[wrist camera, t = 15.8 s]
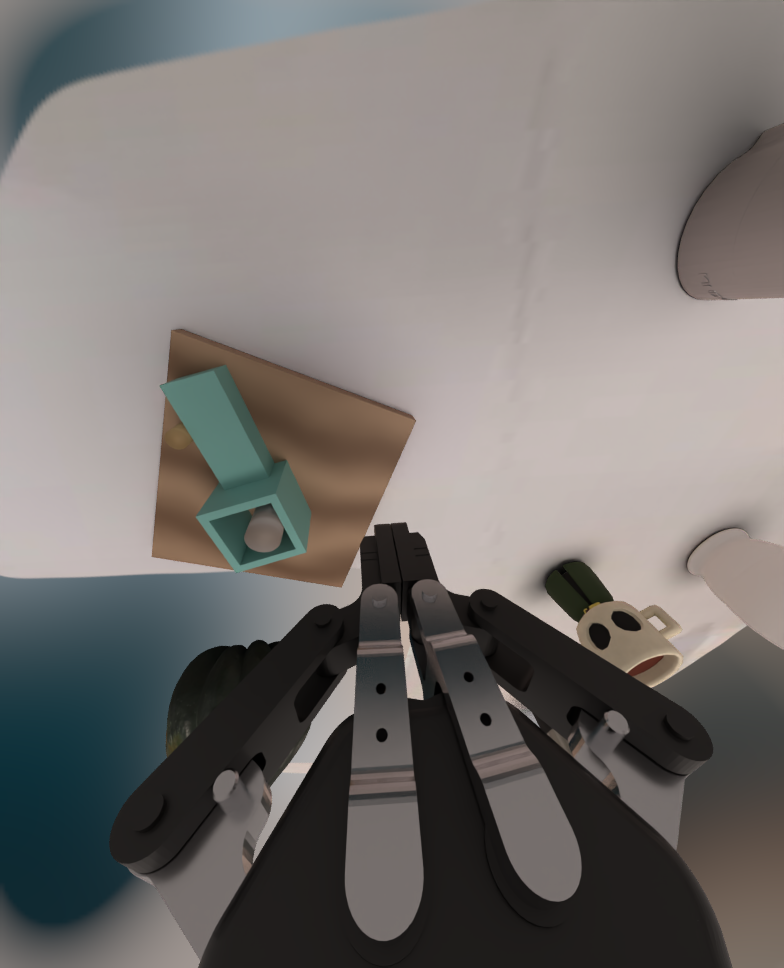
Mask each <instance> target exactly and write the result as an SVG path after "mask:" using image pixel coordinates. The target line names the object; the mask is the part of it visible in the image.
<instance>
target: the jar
mask: <svg viewBox="0 0 784 968" xmlns="http://www.w3.org/2000/svg"><path fill="white" fill-rule="evenodd" d="M687 568H688V570H689V572H690V573H692V574H694V575H696V576H701V577H703V579H704V581H705V582H706V584H707V586H708V587H709V588H710V590H711V591H712V592H713V593H714V594H715V595H716V596H717V597H718V598H719V599H720V600H721V601H722V602H723V603H725V604H726V605H727V606H728V608H729V609H730V610H731V611H732V612H733V613H734V614H735V615H736V616H738V617H739V618H740V619H741V620H742V621H743V622H744V623H745V624H747V625H748V626H749V627H750V628H752V629H753V630H754V631H756V632H757V633H759V634H760V635H761V636H763V637H764V638H766V639H767V640H769V641H770V642H772V643H773V644H775V645H776V646H778V647H780V648H781V649H783V650H784V547H782V546H780V545H777V544H774V543H770V542H766V541H762V540H757V539H750V537H749V535H748V534H747V533H746V532H745V531H744V530H742V529H737V528H733V529H727V530H724V531H721V532H719V533H717V534H714V535H713V536H711V537H709V538H708V539H706V540H705V541H704V542H702V543H701V544H700V545H699V546H698V547H697V548H696V549H695V550H694V551H693V553H692V554H691V556H690V558H689V560H688V563H687Z"/></svg>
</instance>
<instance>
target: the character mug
mask: <svg viewBox="0 0 784 968" xmlns="http://www.w3.org/2000/svg"><path fill="white" fill-rule="evenodd" d="M563 567H564V569H565V570H566V571H567V572H566V573H564V574H563V575H561V574H560V573H559V572H558V571H557V570H555V571H553V573H552V574H551V575H550V576H549V577H548V578H547V582H546V585H545V587H546V590H547V592H548V594H549V595H550V596H551V597H552V599H553V600H554V601H555V602H556V603H557V604H558V605H559V606H560V607H561V608H562V609H563V610H564V611H565V612H566V613H567V614H568V615H569V616H570V617H571V618H572V619H573V620H575V621H577V622H578V626H577V628H576V630H577V634H578V637H579V641H580V642H581V645H582V646H584V647H585V648H587V649H589V650H590V651H592V652H594V653H595V654H597V655H598V656H600V657H602V658H603V659H605V660H606V661H608V662H610V663H611V664H613V665H615V666H616V667H618V668H619V669H621V670H623V671H624V672H626V673H627V674H629V675H631V676H632V677H634V678H636V679H637V680H639V681H640V682H642V683H644V684H645V685H647V686H648V687H650V688H651V687H653V686H656V685H658V684H659V683H661V682H663V681H664V680H666V679H668V678H669V677H670V676H671V675H673V674H674V673H675V672H676V671H677V670H678V669H679V667H680V666H681V665H682V663H683V655H682V654H681V653H680V652H679V651H678V650H677V649H676V648H675V647H674V646H673V645H672V644H671V643H670V642H669V641H668V639H670V638H672V637H673V636H675V635H677V634H679V633H680V632H681V631H682V628H681V626H680V625H679V624H678V623H677V622H676V621H675V620H674V619H673V618H671V617H670V616H669V615H668V614H667V613H666V612H665V611H664V610H663V609H662V608H660V607H658V606H657V605H652V606H649V607H647V608H645V609H644V610H642V611H640V612H639V611H638V610H637V609H635V608H634V607H633V606H631V605H630V604H628V603H626V602H622V601H614V600H613V597H612V595H611V594H610V593H609V591H608V590H607V589H606V587H605V586H604V585H603V583H602V582H601V581H600V579H599V578H598V577H597V576H596V574H595V573H594V572H593V571H592V570H591V568H590V567H588V566H587V565H586V564H585V563H583V562H571V563H568V564H564V565H563ZM653 616H657V617H658V618H659V619H660V620H661V621H662V622H663V623H664V624H665V625H666V626H667V627H665V628H664V629H662V630H660V631H658V630H657V629H656V628H655V627H654V626H653V625H652V624H651V623H650V622H649V621H648V620H647V619H649V618H651V617H653Z"/></svg>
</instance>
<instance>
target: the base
mask: <svg viewBox="0 0 784 968" xmlns="http://www.w3.org/2000/svg"><path fill="white" fill-rule="evenodd" d="M223 365H226V366H227V368H228V370H229V372H230V374H231V376H232V378H233V380H234V382H235V384H236V386H237V388H238V390H239V392H240V394H241V396H242V398H243V400H244V402H245V404H246V406H247V408H248V410H249V412H250V414H251V417H252V419H253V421H254V423H255V425H256V427H257V429H258V431H259V433H260V435H261V437H262V439H263V441H264V443H265V445H266V447H267V449H268V451H269V453H270V455H271V457H272V459H273V461H274V463H278V462H281V461H285V460H287V461H288V463H289V466H290V468H291V470H292V472H293V474H294V476H295V478H296V480H297V483H298V485H299V487H300V489H301V491H302V493H303V495H304V498H305V500H306V502H307V504H308V506H309V508H310V510H311V520H310V528H309V536H308V544H307V552H306V553H303V554H300V555H296V556H293V557H289V558H286V559H283V560H279V561H276V562H273V563H269V564H266V565H262V566H259V567H256V568H252V569H249V570H245V571H242V572H249V573H255V574H261V575H267V576H273V577H280V578H286V579H293V580H298V581H304V582H311V583H317V584H323V585H329V586H335V587H342V585H343V583H344V581H345V578H346V576H347V574H348V572H349V570H350V567H351V565H352V563H353V561H354V558H355V556H356V554H357V552H358V550H359V547H360V543H361V541H362V539H363V538H364V536H365V534H366V532H367V529H368V527H369V525H370V523H371V520H372V518H373V516H374V514H375V511H376V509H377V507H378V505H379V502H380V500H381V498H382V496H383V494H384V491H385V489H386V487H387V485H388V482H389V480H390V478H391V476H392V473H393V471H394V469H395V467H396V464H397V462H398V460H399V458H400V455H401V453H402V451H403V449H404V447H405V444H406V442H407V440H408V438H409V435H410V433H411V431H412V429H413V426H414V424H415V422H416V420H415V419H414V417H413V416H412V415H409V414H407V413H404V412H401V411H399V410H396V409H393V408H391V407H388V406H385V405H383V404H380V403H377V402H375V401H372V400H369V399H367V398H364V397H361V396H359V395H356V394H353V393H351V392H348V391H345V390H343V389H340V388H337V387H335V386H332V385H329V384H327V383H324V382H321V381H319V380H316V379H313V378H311V377H308V376H305V375H303V374H300V373H297V372H295V371H292V370H289V369H287V368H284V367H281V366H279V365H276V364H273V363H271V362H268V361H265V360H263V359H260V358H257V357H254V356H252V355H249V354H246V353H244V352H241V351H238V350H236V349H233V348H230V347H228V346H225V345H222V344H220V343H217V342H214V341H212V340H209V339H206V338H204V337H201V336H198V335H196V334H193V333H190V332H188V331H185V330H182V329H178V330H171V341H170V352H169V364H168V376H167V382H170V381H172V380H175V379H177V378H181V377H184V376H188V375H191V374H195V373H198V372H202V371H205V370H209V369H213V368H216V367H220V366H223ZM218 483H219V481H218V479H217V477H216V476H215V474H214V472H213V471H212V469H211V468H210V466H209V464H208V463H207V461H206V460H205V458H204V456H203V455H202V453H201V452H200V450H199V448H198V447H197V445H196V444H195V442H194V440H193V439H192V437H191V436H190V434H189V432H188V431H187V429H186V428H185V426H184V424H183V423H182V421H181V420H180V418H179V416H178V415H177V413H176V412H175V410H174V408H173V407H172V405H171V404H170V402H169V400H168V399H167V397H166V399H165V410H164V422H163V433H162V445H161V456H160V468H159V479H158V491H157V502H156V514H155V526H154V537H153V549H152V557H156V558H162V559H168V560H175V561H181V562H187V563H193V564H199V565H205V566H212V567H218V568H224V569H230V570H234V569H233V568H232V567H231V565H230V564H229V563H228V561H227V560H226V558H225V557H224V556H223V554H222V553H221V551H220V550H219V549H218V547H217V546H216V544H215V543H214V542H213V540H212V539H211V538H210V536H209V535H208V533H207V532H206V531H205V529H204V528H203V526H202V525H201V524H200V522H199V521H198V520H197V518H196V515H197V514H198V512H199V511H200V509H201V508H202V507H203V505H204V504H205V502H206V501H207V499H208V498H209V496H210V495H211V494H212V492H213V491H214V489H215V488H216V486H217V485H218ZM249 511H250V513H251V515H252V518H251V520H250V523H249V525H248V528H247V530H246V533H245V535H244V540H245V543H246V545H247V546H248V547H249V548H251V549H252V550H254V551H257V552H270V551H273V550H275V549H276V548H278V546H279V545H280V543H281V539H282V535H283V531H284V526H283V524H282V523H281V521H280V519H279V517H278V515H277V513H276V511H275V510H274V508H273V506H272V504H271V503H269V504H266V505H262V506H259V507H256V508H252V509H249Z"/></svg>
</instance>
